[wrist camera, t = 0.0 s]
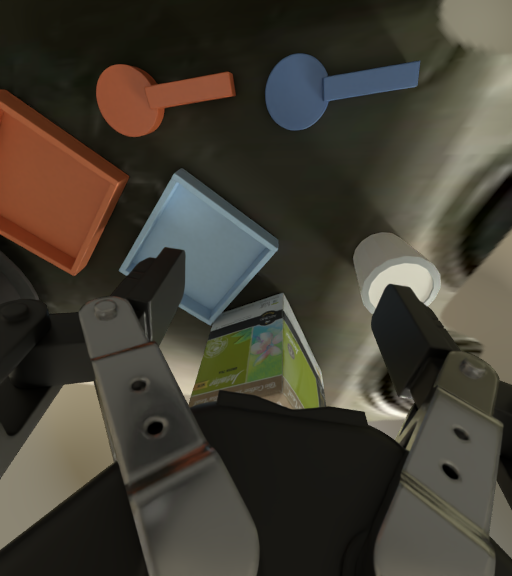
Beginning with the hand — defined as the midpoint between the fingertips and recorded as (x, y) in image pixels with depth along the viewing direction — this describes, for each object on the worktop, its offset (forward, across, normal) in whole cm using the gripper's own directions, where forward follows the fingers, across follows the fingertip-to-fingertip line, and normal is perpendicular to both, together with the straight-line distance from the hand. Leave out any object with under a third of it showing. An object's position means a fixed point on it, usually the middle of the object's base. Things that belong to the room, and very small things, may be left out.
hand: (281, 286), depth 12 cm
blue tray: (+20, +8, +10) cm, 24 cm away
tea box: (+21, -3, +22) cm, 30 cm away
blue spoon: (+20, -3, -8) cm, 22 cm away
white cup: (+21, -12, +7) cm, 25 cm away
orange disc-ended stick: (+20, +11, -5) cm, 24 cm away
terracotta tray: (+20, +24, +5) cm, 32 cm away
